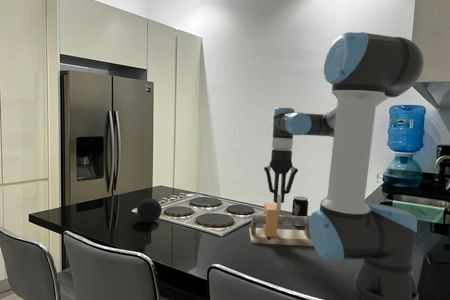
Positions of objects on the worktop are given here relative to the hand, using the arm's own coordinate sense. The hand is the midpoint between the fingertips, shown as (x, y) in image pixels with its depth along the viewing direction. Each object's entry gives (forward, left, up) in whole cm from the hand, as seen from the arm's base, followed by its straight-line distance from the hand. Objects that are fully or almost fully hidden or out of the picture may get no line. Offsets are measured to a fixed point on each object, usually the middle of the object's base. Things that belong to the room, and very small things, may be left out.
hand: (278, 211), depth 126 cm
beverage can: (+18, -12, -11) cm, 24 cm away
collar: (0, +3, -8) cm, 9 cm away
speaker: (+11, +52, -11) cm, 54 cm away
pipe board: (0, -1, -10) cm, 11 cm away
